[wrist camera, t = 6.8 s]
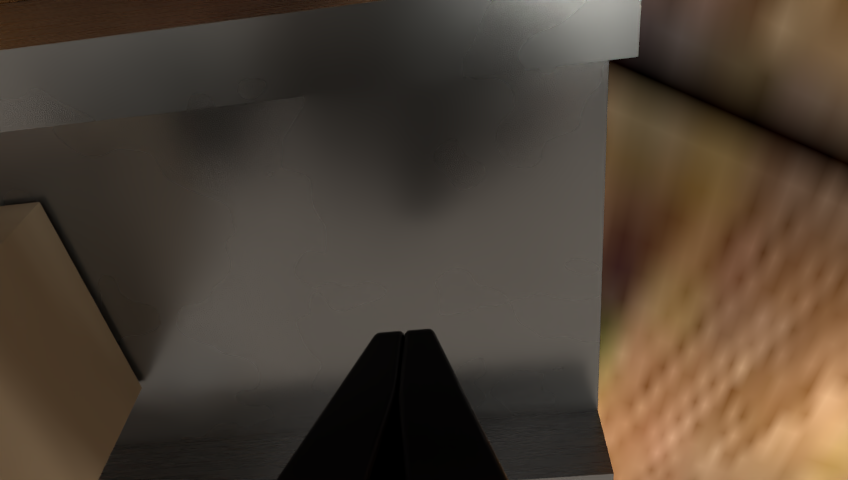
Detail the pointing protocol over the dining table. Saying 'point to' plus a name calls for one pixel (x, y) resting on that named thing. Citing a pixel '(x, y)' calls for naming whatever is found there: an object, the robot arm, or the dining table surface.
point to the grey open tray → (324, 208)
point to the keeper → (54, 359)
